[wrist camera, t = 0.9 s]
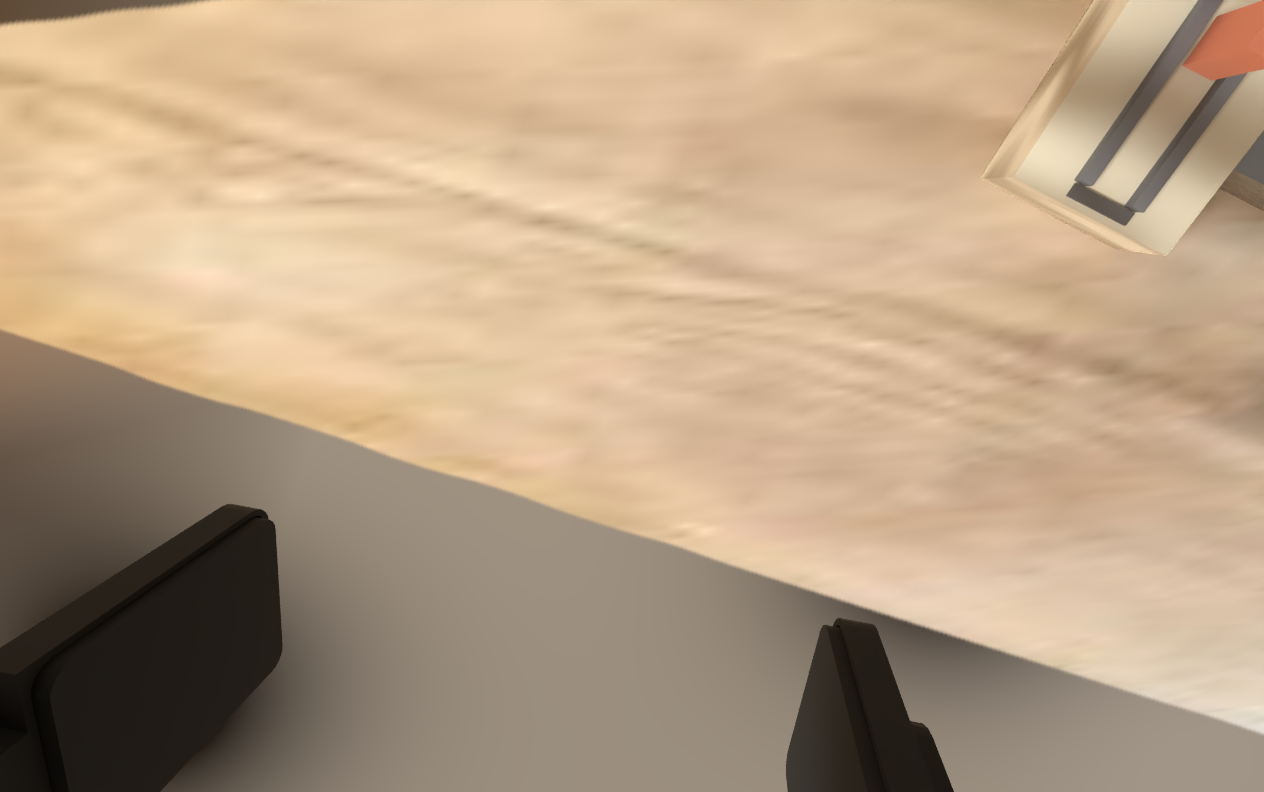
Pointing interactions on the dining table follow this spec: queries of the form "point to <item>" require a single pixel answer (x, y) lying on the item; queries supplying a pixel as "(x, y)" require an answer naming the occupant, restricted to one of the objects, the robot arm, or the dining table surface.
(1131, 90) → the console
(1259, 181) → the rail
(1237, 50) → the orange clay brick
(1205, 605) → the dining table surface
